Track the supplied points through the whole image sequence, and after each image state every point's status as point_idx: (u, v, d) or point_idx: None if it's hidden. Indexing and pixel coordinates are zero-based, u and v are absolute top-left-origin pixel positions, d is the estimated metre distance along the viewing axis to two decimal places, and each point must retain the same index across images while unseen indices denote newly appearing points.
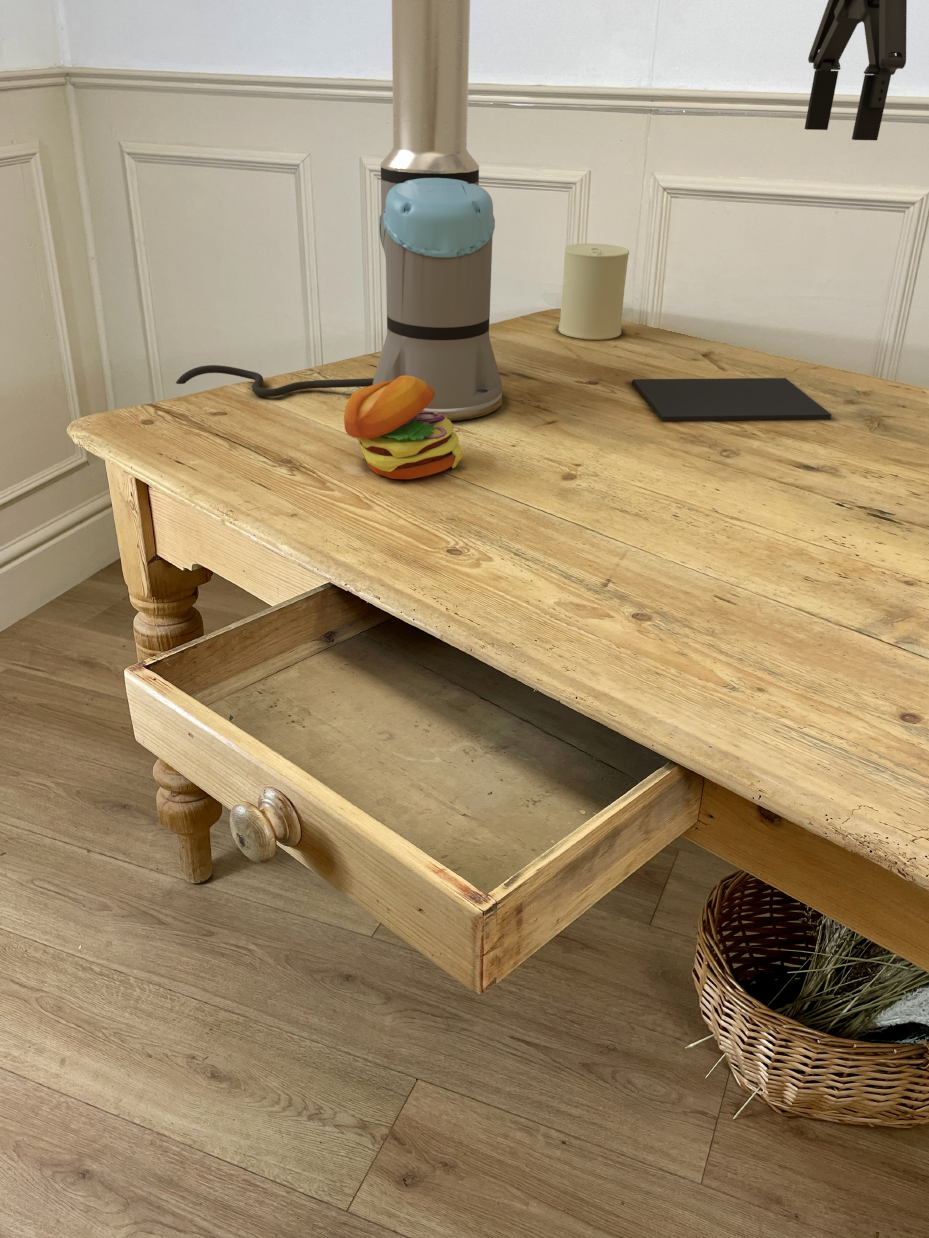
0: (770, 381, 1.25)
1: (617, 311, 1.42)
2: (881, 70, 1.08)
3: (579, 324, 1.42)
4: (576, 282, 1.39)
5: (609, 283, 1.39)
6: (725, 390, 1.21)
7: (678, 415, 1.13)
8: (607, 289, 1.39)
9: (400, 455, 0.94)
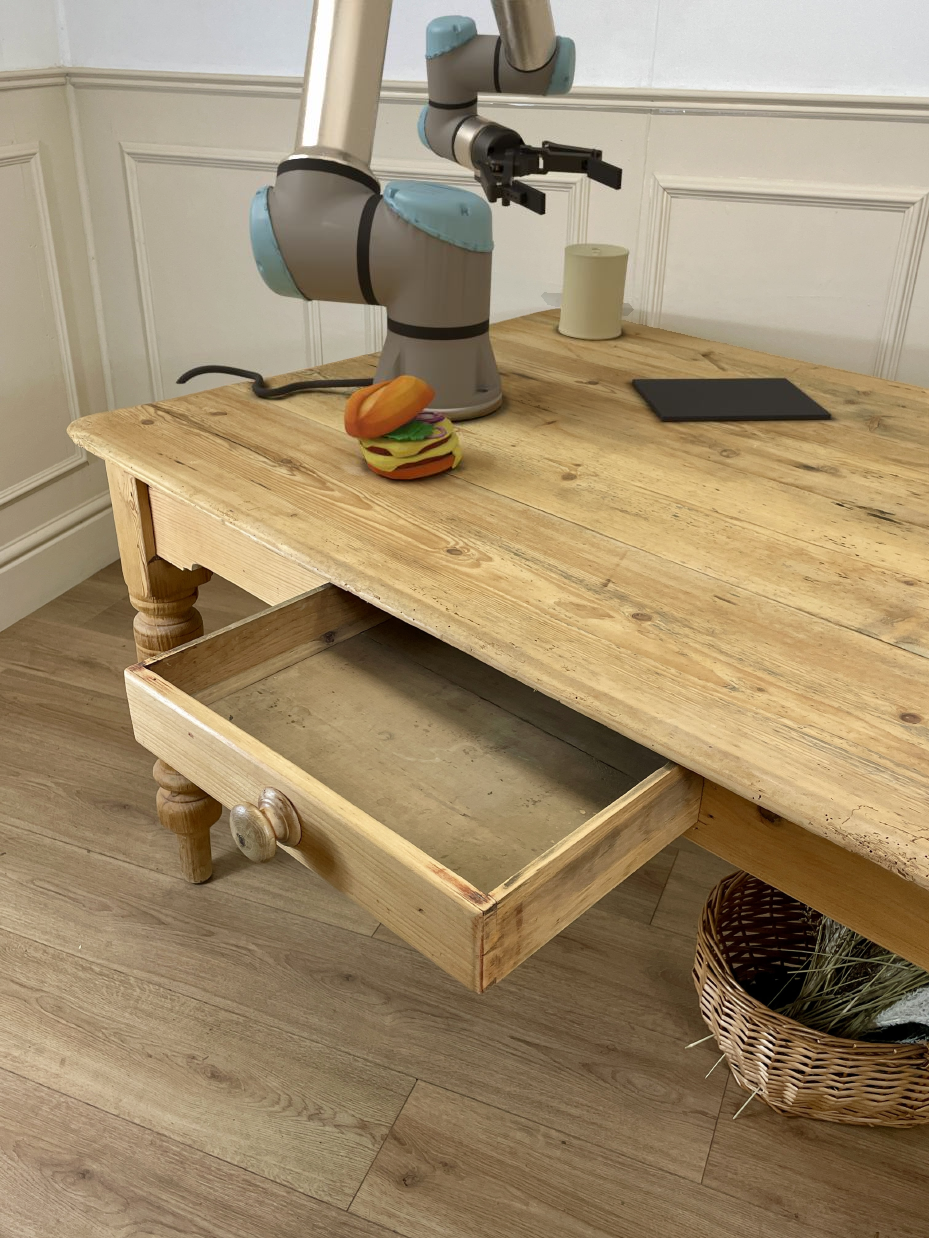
0: (770, 381, 1.25)
1: (617, 311, 1.42)
2: (597, 158, 1.44)
3: (579, 324, 1.42)
4: (576, 282, 1.39)
5: (609, 283, 1.39)
6: (725, 390, 1.21)
7: (678, 415, 1.13)
8: (607, 289, 1.39)
9: (400, 455, 0.94)
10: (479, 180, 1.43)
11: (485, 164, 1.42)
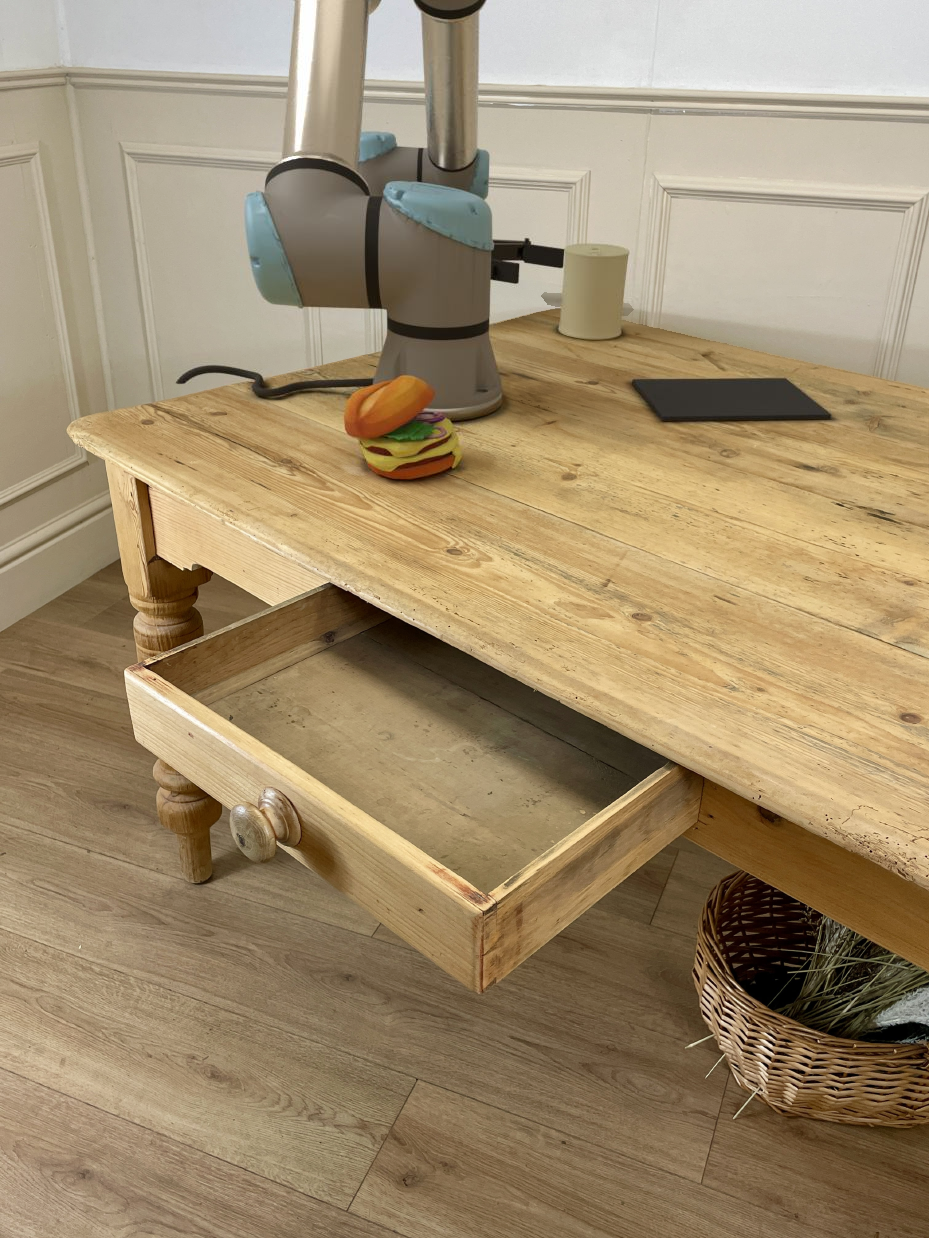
0: (770, 381, 1.25)
1: (617, 311, 1.42)
2: None
3: (579, 324, 1.42)
4: (576, 282, 1.39)
5: (609, 283, 1.39)
6: (725, 390, 1.21)
7: (678, 415, 1.13)
8: (607, 289, 1.39)
9: (400, 455, 0.94)
10: None
11: None
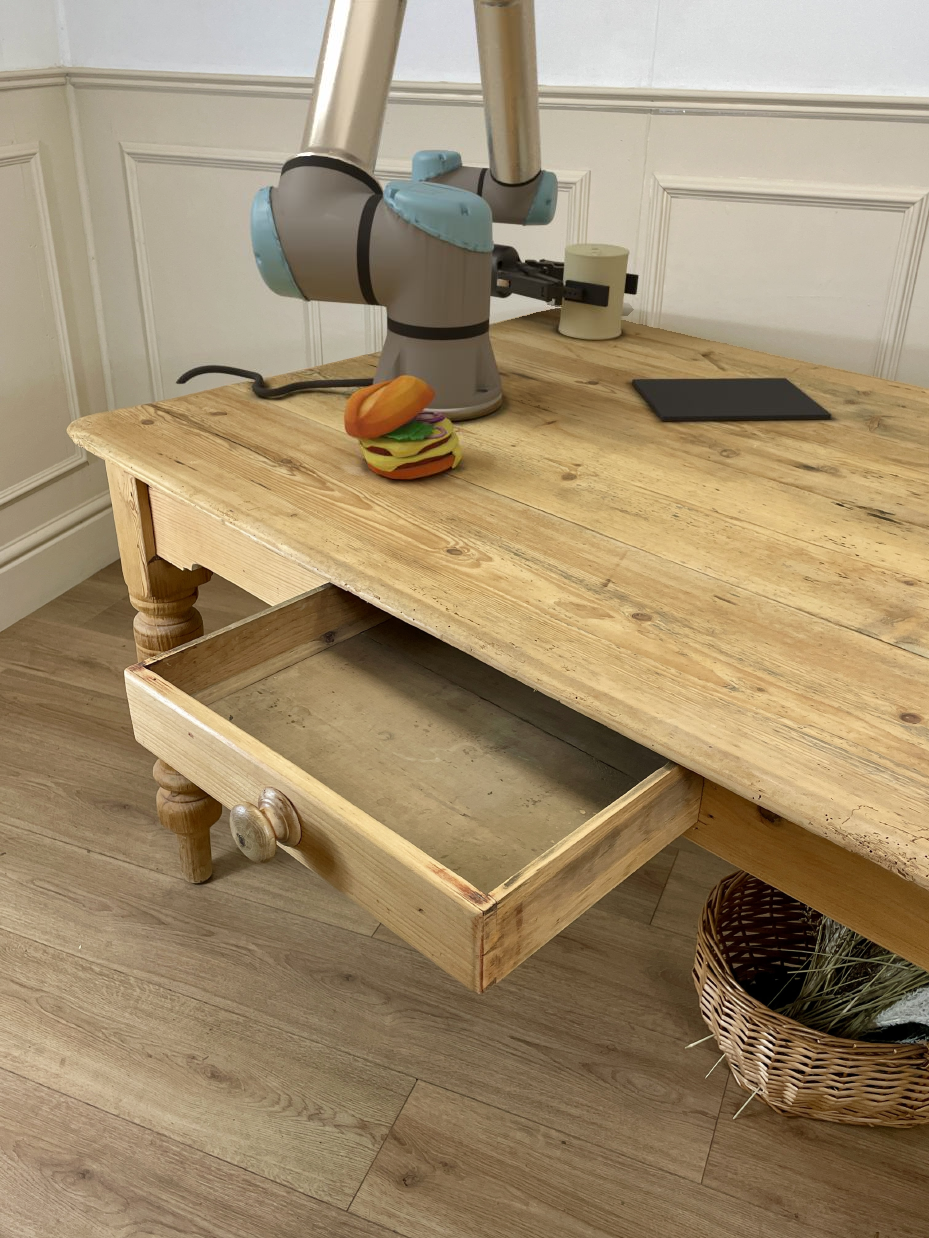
0: (770, 381, 1.25)
1: (617, 311, 1.42)
2: None
3: (579, 323, 1.42)
4: None
5: (609, 283, 1.39)
6: (725, 390, 1.21)
7: (678, 415, 1.13)
8: None
9: (400, 455, 0.94)
10: (507, 289, 1.43)
11: (512, 273, 1.43)
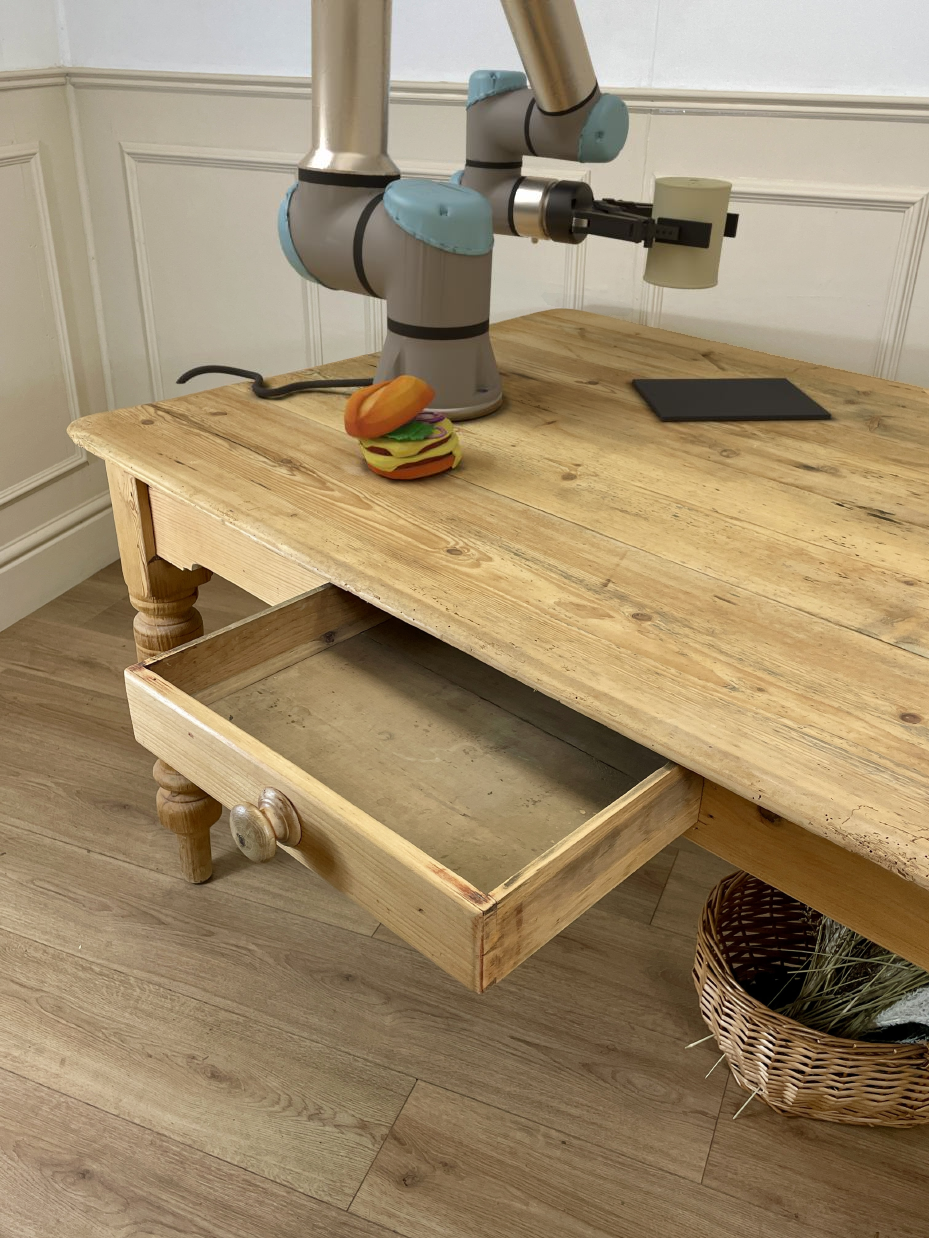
0: (770, 381, 1.25)
1: (716, 255, 1.20)
2: None
3: (672, 270, 1.20)
4: None
5: (710, 221, 1.17)
6: (725, 390, 1.21)
7: (678, 415, 1.13)
8: None
9: (400, 455, 0.94)
10: (585, 231, 1.21)
11: (591, 212, 1.21)
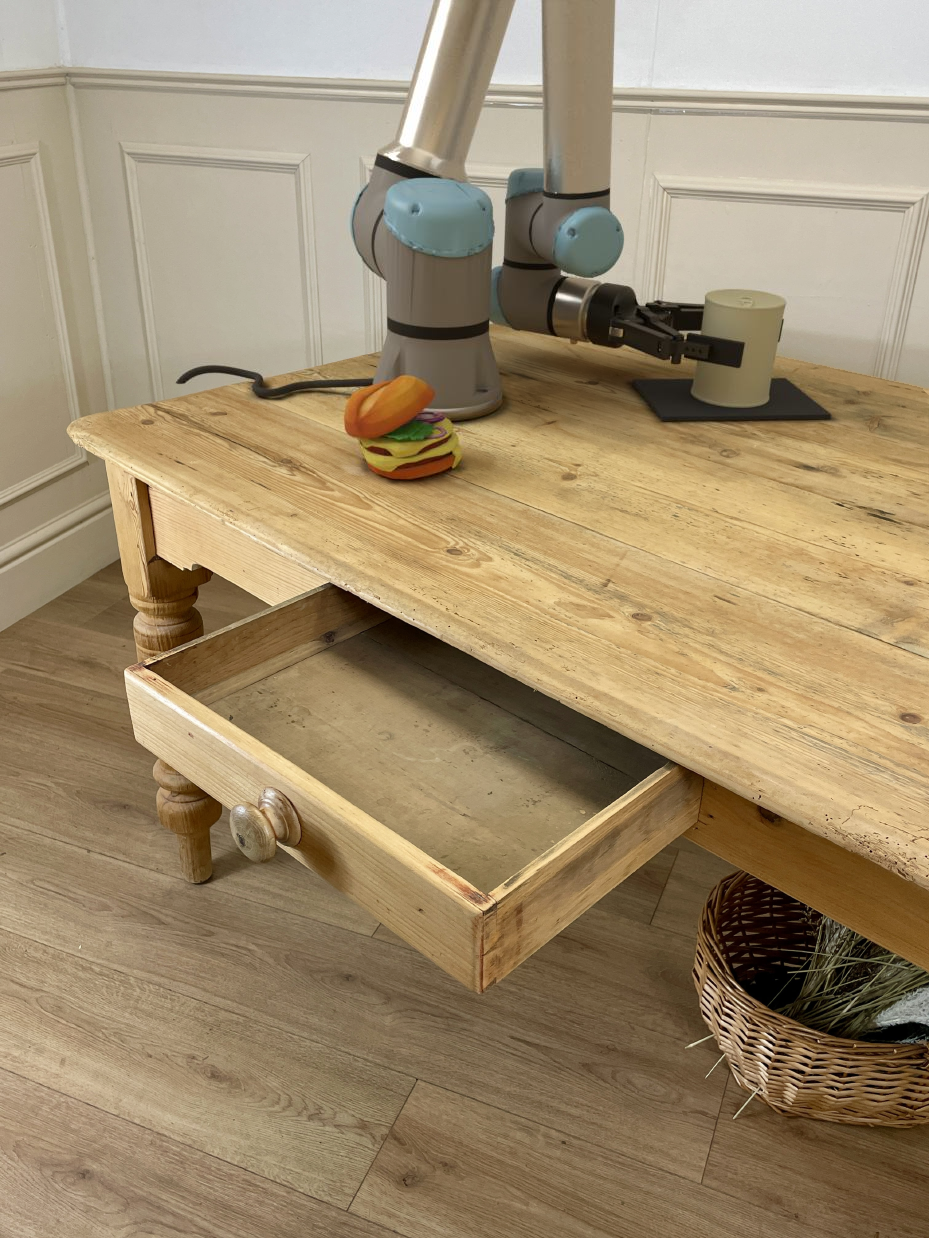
0: None
1: (768, 373, 1.15)
2: None
3: (722, 389, 1.15)
4: None
5: (763, 340, 1.12)
6: None
7: (678, 415, 1.13)
8: (760, 348, 1.12)
9: (400, 455, 0.94)
10: (620, 340, 1.16)
11: (628, 321, 1.16)
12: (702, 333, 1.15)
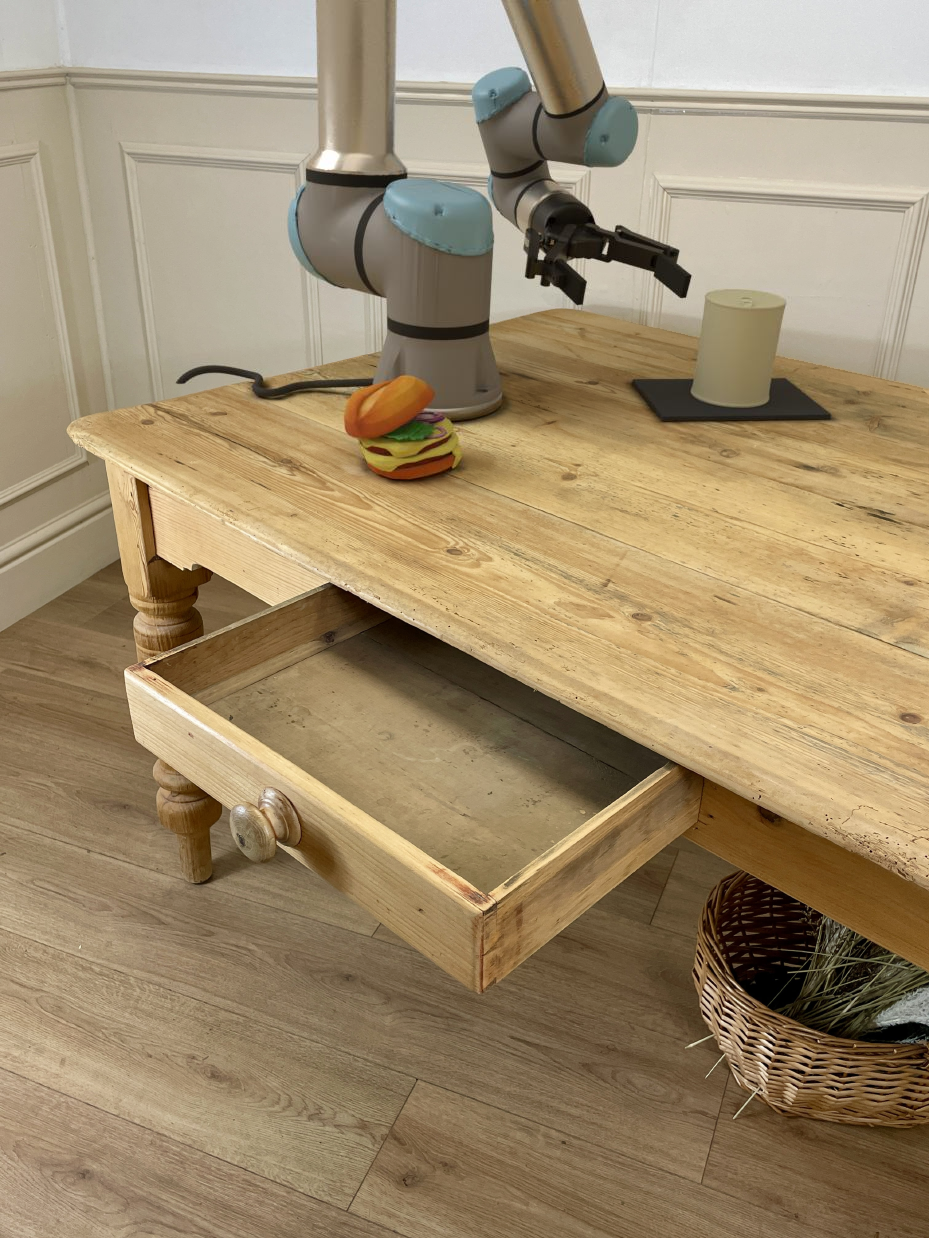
0: None
1: (768, 373, 1.15)
2: (671, 257, 1.20)
3: (722, 389, 1.15)
4: (721, 339, 1.13)
5: (763, 341, 1.12)
6: None
7: (678, 415, 1.13)
8: (760, 348, 1.12)
9: (400, 455, 0.94)
10: (527, 251, 1.21)
11: (537, 234, 1.20)
12: (702, 333, 1.15)
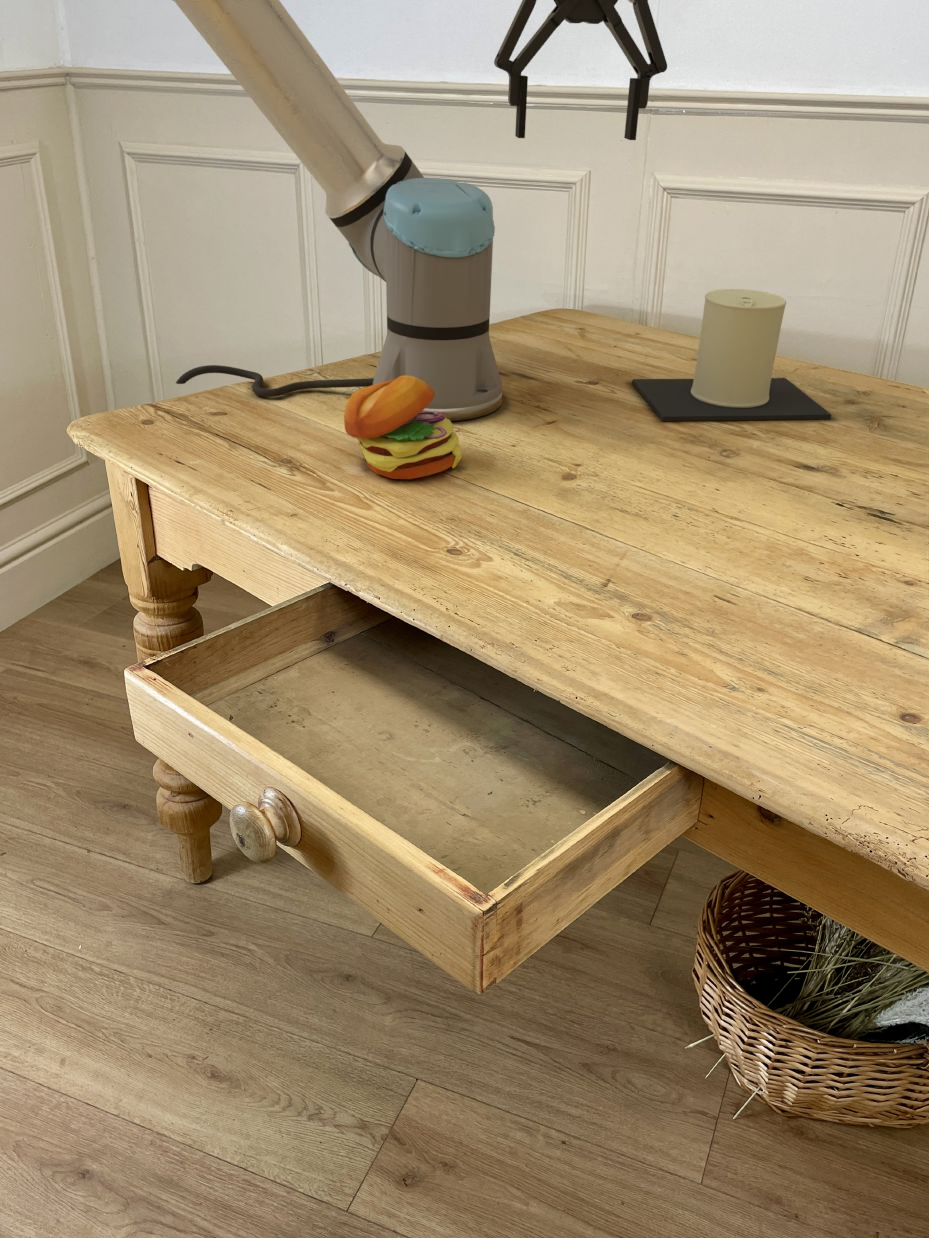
0: None
1: (768, 373, 1.15)
2: (653, 74, 1.17)
3: (722, 389, 1.15)
4: (721, 339, 1.13)
5: (763, 340, 1.12)
6: None
7: (678, 415, 1.13)
8: (760, 348, 1.12)
9: (400, 455, 0.94)
10: None
11: None
12: (702, 333, 1.15)
